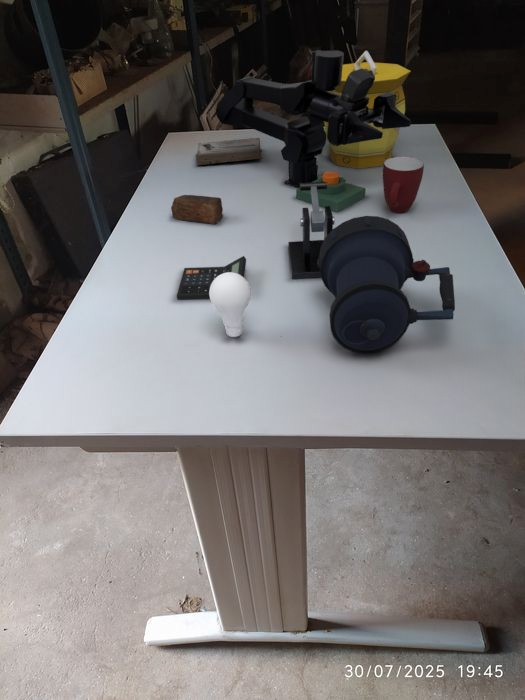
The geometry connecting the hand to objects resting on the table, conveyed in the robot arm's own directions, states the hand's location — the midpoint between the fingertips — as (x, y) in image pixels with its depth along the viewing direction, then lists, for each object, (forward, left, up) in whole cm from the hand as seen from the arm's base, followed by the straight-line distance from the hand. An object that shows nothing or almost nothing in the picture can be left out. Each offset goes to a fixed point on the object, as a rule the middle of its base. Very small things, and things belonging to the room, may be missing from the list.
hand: (396, 129), depth 105 cm
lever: (-1, -23, -9) cm, 25 cm away
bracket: (+2, -26, -17) cm, 31 cm away
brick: (-30, -28, -17) cm, 45 cm away
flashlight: (+23, -35, -17) cm, 45 cm away
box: (-52, +2, -17) cm, 55 cm away
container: (-24, +23, -17) cm, 38 cm away
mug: (+2, +1, -17) cm, 17 cm away
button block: (-14, -2, -17) cm, 22 cm away
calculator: (-7, -44, -17) cm, 48 cm away
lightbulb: (+7, -52, -17) cm, 55 cm away
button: (-14, -2, -13) cm, 20 cm away
